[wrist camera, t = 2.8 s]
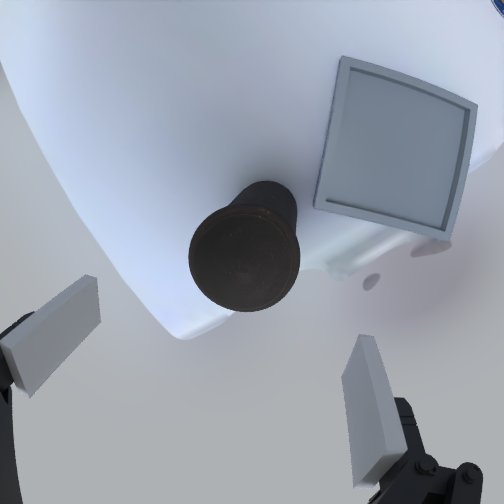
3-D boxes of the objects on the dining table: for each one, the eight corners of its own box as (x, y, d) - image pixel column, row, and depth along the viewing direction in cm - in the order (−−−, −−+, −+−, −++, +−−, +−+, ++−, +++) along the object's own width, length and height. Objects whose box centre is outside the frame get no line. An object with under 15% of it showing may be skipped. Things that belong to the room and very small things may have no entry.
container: (219, 203, 42) (161, 253, 23) (274, 164, 39) (255, 182, 20) (257, 253, 44) (229, 336, 25) (311, 218, 41) (325, 282, 22)
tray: (312, 204, 40) (313, 208, 38) (339, 60, 33) (342, 55, 31) (441, 236, 39) (449, 241, 37) (469, 106, 32) (477, 105, 30)
